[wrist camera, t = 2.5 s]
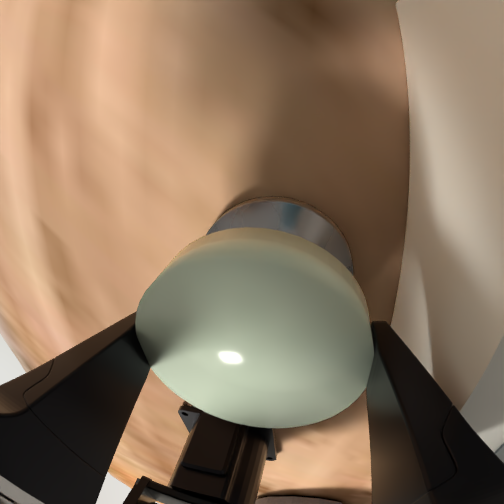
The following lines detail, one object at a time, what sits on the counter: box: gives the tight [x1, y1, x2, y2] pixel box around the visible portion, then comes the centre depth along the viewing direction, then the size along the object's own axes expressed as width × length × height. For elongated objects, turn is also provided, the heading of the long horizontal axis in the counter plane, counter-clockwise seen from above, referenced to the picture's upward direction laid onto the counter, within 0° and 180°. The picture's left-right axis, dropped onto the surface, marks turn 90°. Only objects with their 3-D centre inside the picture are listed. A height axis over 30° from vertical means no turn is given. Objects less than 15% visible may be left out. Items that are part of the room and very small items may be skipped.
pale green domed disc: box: [135, 227, 374, 428], centre depth 8 cm, size 6×6×2 cm
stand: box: [206, 196, 353, 275], centre depth 10 cm, size 6×6×4 cm
